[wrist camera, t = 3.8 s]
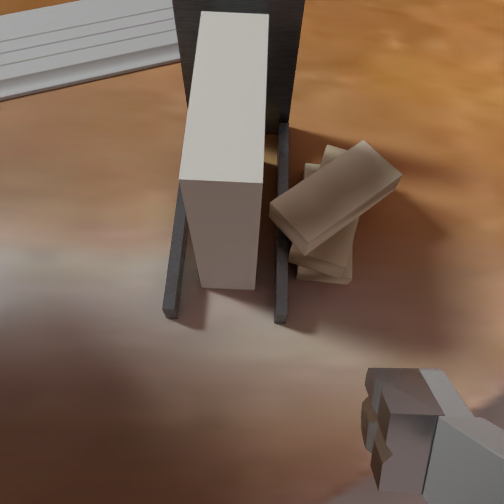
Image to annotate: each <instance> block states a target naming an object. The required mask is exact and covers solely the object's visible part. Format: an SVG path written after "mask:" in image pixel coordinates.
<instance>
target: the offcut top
mask: <svg viewBox="0 0 504 504" xmlns="http://www.w3.org/2000/svg"><path fill="white" fill-rule="evenodd" d="M401 177H402V174H401V173H400V172H399V171H398V170H397V169H395V168H394V167H393V166H392V165H391V164H390V163H389V162H388V161H386V160H385V159H384V158H383V157H382V156H381V155H380V154H379V153H377V152H376V151H375V150H374V149H373V148H372V147H371V146H370V145H369V144H367V143H366V142H365V141H364V140H363V141H361V142H360V143H358V144H357V145H355V146H354V147H352V148H351V149H349V150H348V151H346V152H345V153H343V154H342V155H340V156H339V157H337V158H336V159H334V160H333V161H331V162H330V163H328V164H327V165H325V166H324V167H322V168H321V169H319V170H318V171H316V172H315V173H313V174H312V175H310V176H309V177H307V178H306V179H304V180H303V181H301V182H300V183H298V184H297V185H295V186H294V187H292V188H291V189H289V190H288V191H286V192H285V193H283V194H282V195H280V196H279V197H277V198H276V199H274V200H273V201H271V202H270V209H269V218H270V219H271V220H272V221H273V222H274V223H275V224H276V225H277V227H278V228H279V229H280V230H281V231H282V232H283V233H284V234H285V235H286V236H287V237H288V238H289V239H290V241H291V242H292V243H293V244H294V245H295V246H296V247H297V248H298V249H299V250H300V251H301V252H302V253H303V255H304V256H305V255H307V254H308V253H309V252H311V251H312V250H314V249H315V248H316V247H318V246H319V245H320V244H322V243H323V242H325V241H326V240H327V239H329V238H330V237H331V236H333V235H334V234H336V233H337V232H338V231H340V230H341V229H342V228H344V227H345V226H346V225H348V224H349V223H351V222H352V221H353V220H355V219H356V218H357V217H359V216H360V215H361V214H363V213H364V212H366V211H367V210H368V209H370V208H371V207H372V206H374V205H375V204H376V203H378V202H379V201H381V200H382V199H383V198H385V197H386V196H387V195H389V194H390V193H392V192H393V191H394V190H395V188H396V186H397V184H398V182H399V180H400V179H401Z"/></svg>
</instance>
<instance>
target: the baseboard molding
mask: <svg viewBox="0 0 504 504" xmlns="http://www.w3.org/2000/svg"><path fill="white" fill-rule="evenodd" d="M179 61H181V60H180V53H179V46H178V39H177V32H176V25H175V19H174V12H173V5H172V0H81V1H75V2H70V3H65V4H60V5H54V6H49V7H44V8H39V9H33V10H28V11H23V12H18V13H12V14H7V15H2V16H0V101H2V100H6V99H11V98H16V97H20V96H25V95H29V94H34V93H38V92H43V91H47V90H52V89H56V88H61V87H66V86H70V85H75V84H79V83H84V82H88V81H93V80H97V79H102V78H106V77H111V76H116V75H120V74H125V73H129V72H134V71H138V70H143V69H147V68H152V67H156V66H161V65H166V64H170V63H175V62H179Z"/></svg>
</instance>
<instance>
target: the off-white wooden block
mask: <svg viewBox="0 0 504 504" xmlns="http://www.w3.org/2000/svg"><path fill="white" fill-rule="evenodd" d="M268 26H269V14H252V13H231V12H210V11H201V17H200V24H199V32H198V39H197V47H196V54H195V61H194V69H193V76H192V84H191V91H190V99H189V106H188V114H187V121H186V129H185V136H184V144H183V151H182V158H181V166H180V173H179V183H180V188H181V193H182V197H183V202H184V207H185V212H186V216H187V221H188V226H189V231H190V235H191V240H192V245H193V250H194V254H195V259H196V264H197V269H198V273H199V278H200V283H201V288H218V289H240V290H255V280H256V267H257V254H258V241H259V228H260V214H261V201H262V188H263V166H264V138H265V110H266V82H267V54H268Z"/></svg>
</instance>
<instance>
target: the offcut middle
mask: <svg viewBox="0 0 504 504" xmlns="http://www.w3.org/2000/svg"><path fill="white" fill-rule="evenodd" d="M346 151H348V150H345V149H341V148H338V147H334V146H331V145H327V146H326V149H325V152H324V155H323V158H322V161H321V163H320V166H319V169H321V168H322V167H324V166H325V165H327V164H328V163H330V162H331V161H333V160H334V159H336V158H337V157H339V156H340V155H342V154H343V153H345V152H346ZM319 169H318V170H319ZM359 218H360V216H359V217H357V218H356V219H355V220H353V221H352V222H351V223H349V224H348V225H346V226H345V227H344V228H342V229H341V230H340V231H338V232H337V233H336V234H334V235H333V236H331V237H330V238H329V239H327V240H326V241H325V242H323V243H322V244H320V245H319V246H318V247H316V248H315V249H314V250H312V251H311V252H309V253H308V254H307V255H305V256H304V255H303V253H302V252H301V251H300V250H299V249H298V248H297V247H296V246H295V245H294V244H293V243H292V246H291V249H290V253H289V258H288V262H290V263H293V264H296V265H299V266H302V267H305V268H308V269H311V270H314V271H317V272H320V273H323V274H327V275H330V276H333V277H336V278H339V279H340V277H341V275H342V273H343V271H344V269H345V267H346V264H347V260H348V256H349V253H350V249H351V246H352V242H353V239H354V235H355V232H356V228H357V225H358V221H359Z"/></svg>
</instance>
